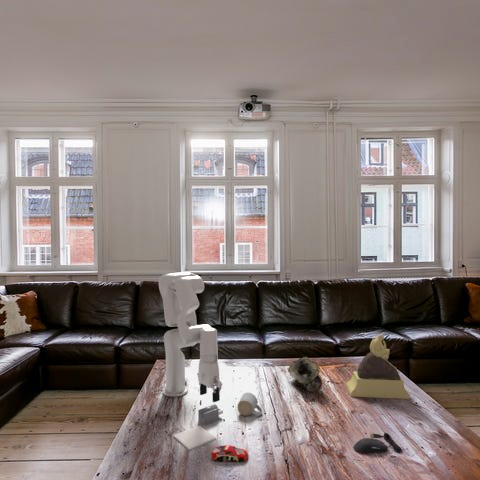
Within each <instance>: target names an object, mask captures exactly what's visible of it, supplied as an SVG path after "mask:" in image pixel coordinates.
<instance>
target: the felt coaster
mask: <svg viewBox="0 0 480 480" xmlns="http://www.w3.org/2000/svg"><path fill="white" fill-rule="evenodd" d="M173 437H174V438H175V439H176V440H177V441H178V442H179V443H180V444H182V446H184V447H185V448H186V449H187V450H188V451H190V450H193V449H195V448H198V447H200V446H203V445H206V444H208V443H210V442H213V441H216V440H217V438H216V436H215V435H213V434H211V433H210V431H208V430H206V429H205V428H204V427H202V426H201V425H197V426H195V427H191V428H189V429H187V430H186V429H185V430H183V431H181V432H178V433H174V434H173Z"/></svg>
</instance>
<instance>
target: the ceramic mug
mask: <svg viewBox="0 0 480 480" xmlns="http://www.w3.org/2000/svg"><path fill="white" fill-rule="evenodd" d="M255 409H257V410H258V411H259V412H258V411H257V412H256V411H255ZM237 411H238V413H239V414H240V415H241V416H244V417H248V416H250V415H251V414H252V415H253V416H256V417H259V416H261V415H262V413H263V408H262V407H261V406H260V405H258V398H257V397H256V395H255V394H253V393H252V392H244V393H243V394H242V396H241V398H240V399H239V401H238V404H237Z"/></svg>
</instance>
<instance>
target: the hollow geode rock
mask: <svg viewBox="0 0 480 480" xmlns="http://www.w3.org/2000/svg"><path fill="white" fill-rule="evenodd" d="M287 372H288V373H289V375H290V377H293V378H294V379H295V380H296V381H298V383H300V384H302V385H303V387H304V388H305V389H306V391H307V392H309V393H311V394H315V393H316V392H317V391H319V390H320V389H322V386H323V379H322V378H321V377H320V376H319V375H320V374H319V373H320V369H319V365H318V363H316V362H314V361H311V360H310V359H309V358H308V356H302V357H301V358H299V359H297V360H296V361H294V362H292V364H290V365H289V367H288V369H287Z"/></svg>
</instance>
